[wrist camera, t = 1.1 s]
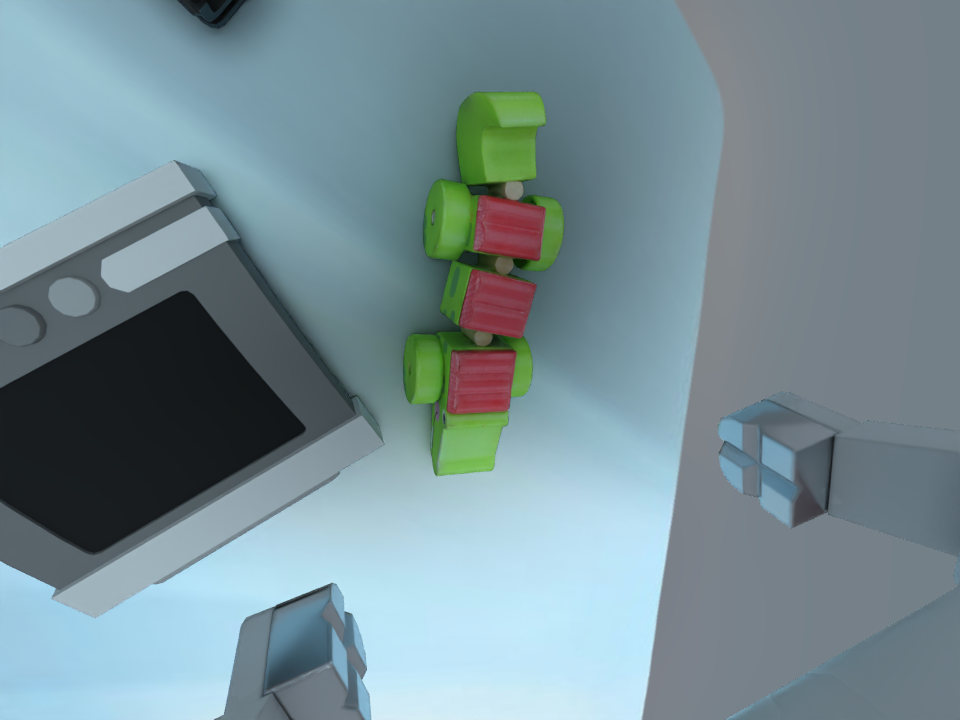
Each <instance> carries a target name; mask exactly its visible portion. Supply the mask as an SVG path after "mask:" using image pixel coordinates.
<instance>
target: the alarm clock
mask: <svg viewBox="0 0 960 720" xmlns="http://www.w3.org/2000/svg"><path fill="white" fill-rule="evenodd" d="M216 196H217V195H216V193H215V192H214V190H213V189H212V187H211V186H210V184H209V183H208V182H207V180H206V179H205V177H204V176H203V174H202V173H201V171H200V170H198V169H196V168H193V167H191V166H188V165H186V164H183V163H180V162H178V161H175V160H173V161H171V162H169V163H167V164H165V165H163V166H161V167H159V168H157V169H155V170H153V171H151V172H149V173H147V174H145V175H143V176H141V177H139V178H137V179H135V180H133V181H131V182H129V183H127V184H125V185H123V186H121V187H120V188H118V189H116V190H114V191H112V192H110V193H108V194H106V195H104V196H102V197H100V198H98V199H96V200H94V201H92V202H90V203H88V204H86V205H84V206H82V207H80V208H78V209H76V210H74V211H72V212H70V213H68V214H66V215H64V216H62V217H60V218H58V219H56V220H54V221H52V222H50V223H48V224H46V225H44V226H42V227H40V228H38V229H36V230H34V231H32V232H30V233H28V234H26V235H24V236H22V237H20V238H18V239H17V240H15V241H13V242H11V243H9V244H7V245H5V246H3V247H1V248H0V561H1V562H3V563H5V564H7V565H9V566H11V567H13V568H15V569H17V570H19V571H21V572H23V573H25V574H27V575H30V576H32V577H34V578H36V579H38V580H40V581H42V582H44V583H46V584H49V585H51V586H53V587H55V588H56V590H55V592H54V594H53V596H52V598H51V599H53V600H55V601H57V602H60V603H62V604H64V605H67V606H69V607H71V608H73V609H76V610H78V611H80V612H82V613H85V614H87V615H89V616H92V617H94V618H97V617H98V616H100V615H102V614H103V613H105V612H107V611H108V610H110V609H112V608H113V607H115V606H117V605H118V604H120V603H122V602H123V601H125V600H127V599H128V598H130V597H132V596H133V595H135V594H137V593H138V592H140V591H142V590H143V589H145V588H147V587H148V586H150V585H152V584H159V583H163V582H165V581H166V580H168V579H170V578H171V577H173V576H175V575H176V574H178V573H180V572H181V571H183V570H185V569H186V568H188V567H190V566H191V565H193V564H195V563H196V562H198V561H200V560H201V559H203V558H205V557H206V556H208V555H209V554H211V553H213V552H214V551H216V550H218V549H219V548H221V547H223V546H224V545H226V544H228V543H229V542H231V541H233V540H234V539H236V538H238V537H239V536H241V535H243V534H244V533H246V532H248V531H249V530H251V529H253V528H254V527H256V526H258V525H259V524H261V523H263V522H264V521H266V520H268V519H269V518H271V517H273V516H274V515H276V514H278V513H279V512H281V511H282V510H284V509H286V508H287V507H289V506H291V505H292V504H294V503H296V502H297V501H299V500H301V499H302V498H304V497H306V496H307V495H309V494H311V493H312V492H314V491H316V490H317V489H319V488H321V487H322V486H324V485H326V484H327V483H329V482H331V481H332V480H334V479H335V478H336V477H337V476H338V475H339V474H340V471H341V470H343V469H344V468H346V467H348V466H349V465H351V464H353V463H354V462H356V461H358V460H359V459H361V458H363V457H364V456H366V455H368V454H369V453H371V452H373V451H374V450H376V449H378V448H379V447H381V446H383V445H384V441H383V438H382V435H381V432H380V429H379V426H378V424H377V423H376V421H375V420H374V418H373V417H372V416H371V414H370V413H369V412H368V410H367V409H366V408H365V406H364V405H363V404H362V402H361V401H360V400H359V398H358V397H357V396H355V397H354V398H352V399H350V397H349V396H348V395H347V393H346V392H345V391H344V389H343V388H342V387H341V386H340V384H339V383H338V382H337V380H336V379H335V378H334V376H333V375H332V374H331V372H330V371H329V370H328V368H327V367H326V366H325V364H324V363H323V362H322V360H321V359H320V357H319V356H318V355H317V353H316V352H315V351H314V349H313V348H312V347H311V345H310V344H309V343H308V341H307V340H306V338H305V337H304V336H303V334H302V333H301V332H300V330H299V329H298V327H297V326H296V325H295V323H294V322H293V320H292V319H291V317H290V316H289V315H288V313H287V312H286V310H285V309H284V308H283V306H282V305H281V303H280V302H279V301H278V299H277V298H276V296H275V295H274V294H273V292H272V291H271V289H270V288H269V286H268V285H267V283H266V282H265V281H264V279H263V278H262V276H261V275H260V273H259V272H258V270H257V269H256V268H255V266H254V265H253V263H252V262H251V260H250V259H249V257H248V256H247V255H246V253H245V252H244V250H243V249H242V247H241V246H240V244H239V243H238V242H237V240H238V239H240V237H239V235H238V234H237V232H236V231H235V230H234V228H233V227H232V225H231V224H230V222H229V221H228V219H227V218H226V216H225V215H224V214H223V212H222V211H221V209H220V208H215V207H213V205H212V204H211V203H210V201H209V200H210V199H212V198H214V197H216Z"/></svg>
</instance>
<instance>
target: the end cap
mask: <svg viewBox="0 0 960 720" xmlns="http://www.w3.org/2000/svg"><path fill="white" fill-rule="evenodd" d="M178 1H179V2H180V3H181V4H182V5H183V6H184V7H185V8H186V9H187V10H188V11H189V12H190V13H191V14H192V15H195V16H197V17H198V18H199V19H200V20H201V21H202V22H203V23H205V24H206V25H208V26H210V27H213V28H220V27H222V26H223V25H225V24H226V23H227V21H228V20H229V19H230V18H231V17H232V16H233V14H234V13H235V12H236V11H237V10H238V8H239V7H240V6H241V5H242V4H243V3H244V1H245V0H178Z"/></svg>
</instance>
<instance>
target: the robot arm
mask: <svg viewBox="0 0 960 720" xmlns="http://www.w3.org/2000/svg"><path fill="white" fill-rule="evenodd" d="M718 435H719V437H721V438H722V439H723V440H724V443H723V445H722V447H721V450H720V451H719V461H720V467H721V469H722V471H723V473H724V475H725V477H726V479H727V480H728V481H729V482H730V483H731V484H732V485H733V487H735V488H736V489H737V490H739V491H740V492H741V493H743V494H745V495H749V496H753V497H758V498H759V500H760V503H761V507H762V508H763V509H765V510H766V511H767V512H769V513H770V514H772V515H773V516H774V517H776V518H777V519H779V520H780V521H781V522H783V523H784V524H786V525H787V526H788V527H790V528H793V527H796V526H798V525H800V524H802V523H804V522H807V521H809V520H811V519H814V518H815V517H818V516H820V515H822V514H824V513H827V512H828V515H831V516H834V517H837V518H840V519H843V520H846V521H849V522H852V523H855V524H858V525H862V526H865V527H868V528H871V529H874V530H877V531H880V532H883V533H887V534H889V535H892V536H895V537H898V538H902V539H905V540H908V541H911V542H914V543H917V544H920V545H923V546H926V547H929V548H932V549H935V550H939V551H941V552H945V553H948V554H951V555H954V556H957V557H958V558H957V562H956V566H955V570H954V574H953V577H954V580H955V583H956V584H957V585H958V587H956V588H955V589H953V590H951V591H949V592H948V593H946V594H945V595H942V596H941V597H939V598H937V599H935V600H934V601H932V602H930V603H928V604H927V605H925V606H923V607H921V608H920V609H918V610H916V611H914V612H913V613H911V614H909V615H907V616H906V617H904V618H902V619H900V620H899V621H897V622H895V623H893V624H892V625H890V626H888V627H886V628H885V629H883V630H881V631H879V632H878V633H876V634H874V635H873V636H871V637H869V638H867V639H866V640H864V641H862V642H860V643H858V644H857V645H855V646H853V647H851V648H850V649H848V650H846V651H845V652H843V653H841V654H839V655H837V656H836V657H834V658H832V659H830V660H829V661H827V662H826V663H823V664H822V665H820V666H818V667H816V668H815V669H813V670H811V671H809V672H808V673H806V674H804V675H803V676H801V677H799V678H797V679H795V680H794V681H792V682H790V683H788V684H787V685H785V686H783V687H782V688H780V689H778V690H776V691H774V692H773V693H771V694H769V695H767V696H766V697H764V698H762V699H761V700H759V701H757V702H755V703H753V704H752V705H750V706H748V707H746V708H745V709H743V710H741V711H740V712H738V713H736V714H734V715H733V716H731V717H729V718H727V719H726V720H960V431H957V430H948V429H940V428H939V429H938V428H931V427H922V426H912V425H904V424H895V423H886V422H876V421H869V420H868V421H866V422H863V423H861V422H858V421H856V420H854V419H851V418H849V417H847V416H844V415H842V414H839V413H837V412H835V411H832V410H830V409H828V408H826V407H823V406H821V405H819V404H816V403H814V402H812V401H809V400H807V399H805V398H802V397H800V396H798V395H795V394H793V393H790V392H779V393H777V394H775V395H772V396H770V397H768V398H766V399H763V400H761V402H757V403H755V404H753V405H751V406H749V407H746V408H744V409H741V410H739V411H737V412H735V413H732V414H730V415H727V416H725V417H723V418H721V420H720V422H719V424H718ZM366 670H367V665H366V656H365V650H364V646H363V641H362V637H361V634H360V631H359V628H358V625H357V623H356V621H355V619H354V617H353V615H352V614H351V613H348V612H345V611H344V597H343V595H342V593H341V591H340V590H339V588H338V586H337V584H335V583H331V584H328V585H326V586H323V587H321V588H318V589H315V590H313V591H310V592H308V593H305V594H303V595H300V596H298V597H295V598H293V599H290V600H288V601H285V602H283V603H280V604H278V605H276V606H275V607H272V608H269V609H267V610H264V611H262V612H259V613H257V614H254V615H252V616H249V617H246V619H245V620H244V622H243V624H242V625H241V628H240V633H239V639H238V644H237V649H236V654H235V660H234V665H233V670H232V675H231V680H230V686H229V691H228V696H227V701H226V707H225V712H224V715H222V716H220V717H218V718H216V719H214V720H371V709H370V697H369V693H368V691H367V689H366V687H365V685H364V684H363V682H362V679H363V677H364V674H365V672H366Z"/></svg>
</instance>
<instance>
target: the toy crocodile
mask: <svg viewBox="0 0 960 720" xmlns="http://www.w3.org/2000/svg"><path fill="white" fill-rule="evenodd" d="M544 125H546V115H545V109H544V104H543V101H542V98H541V96H540V95H539V94H538V93H537V92H475V93H472V94H471V95H469V96H468V97H467V98H466V99H465V100H464V101H463V102H462V104H461V105H460V108H459V112H458V118H457V129H456V140H457V152H458V159H459V165H460V172H461V178H462V183H458V182H453V181H448V180H443V179H439V180H437V181H435V182H434V184H433V186H432V187H431V190H430V192H429V196H428V199H427V203H426V208H425V215H424V223H423V242H424V248H425V252H426V254H427V255H428V256H429V257H431V258H437V259H446V260H451V261H452V263H451V267H450V270H449V275H448V279H447V283H446V287H445V291H444V295H443V299H442V304H441V306H440V312H441V313H443V314H444V315H445V316H447V317H448V318H449V319H450V320H452V321H453V322H454V323H455V324H456V325H458V326H460V328H461V330H462V332H437V333H436V335H427V334H412V335H410V336H409V337H408V338H407V341H406V344H405V350H404V359H403V377H404V388H405V393H406V397H407V400H408V401H409V403H411V404H430V403H433V407H432V428H431V442H430V450H431V455H432V462H433V469H434V473H435V475H436V476H442V475H452V474H462V473H473V472H483V471H492V470H493V468H494V464H495V463H494V462H495V453H496V450H497V446H498V442H499V438H500V434H501V431H502V427H503V426H507V424H508V420H509V419H508V409H509V406H510V398H511V397H520V396H523V395H524V394H526V392H527V391H528V389H529V387H530V385H531V380H532V371H533V363H532V355H531V351H530V347H529V345H528V342H527V341H526V339H525V338H524V337H523V334H524V330H525V327H526V323H527V319H528V316H529V312H530V309H531V305H532V301H533V298H534V293H535V290H536V287H537V285H536V284H535V283H533V282H531V281H528V280H525V279H522V278H519V277H518V276H515V275H512V274H510V273H509V272H510V271H511V270H512V268H513V267H514V265H515V267H517V268H519V269H521V270H529V271H545V270H547V269H548V268H549V267H550V266H551V265H552V264H553V263H554V261H555V260H556V258H557V256H558V254H559V251H560V248H561V245H562V240H563V234H564V216H563V211H562V208H561V205H560V204H559V202H558V201H557V200H555V199H553V198H550V197H542V196H536V195H529V196H527V197H525V198H524V199H523V200H522V201H521V202H519V201H518V200H519V199H520V198H521V196H522V195H523V191H524V189H523V185H522V182H524V181H528V180H532V179H535V178H536V152H535V144H536V133H537V128H538V127H539V126H544ZM468 186H486V187H487V188H488V190H487V194H488V195H473V194H471V192H470V191H469V189H468V188H467V187H468ZM463 252H466V253H469V252H475V253H479V255H478V263H477V264H476V265H472V264H468V263H463V262H460V261H457V259H458V258H460V256H461V255H462V253H463ZM513 263H514V264H513Z"/></svg>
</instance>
